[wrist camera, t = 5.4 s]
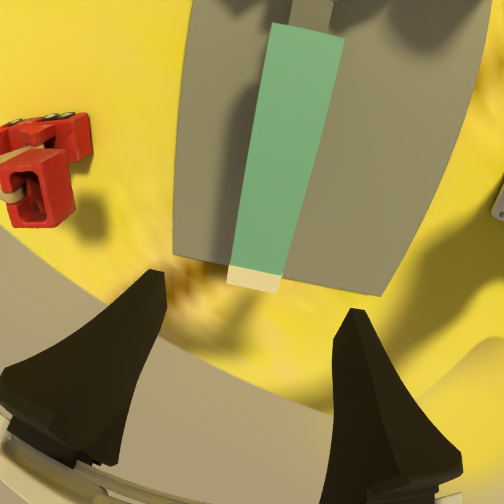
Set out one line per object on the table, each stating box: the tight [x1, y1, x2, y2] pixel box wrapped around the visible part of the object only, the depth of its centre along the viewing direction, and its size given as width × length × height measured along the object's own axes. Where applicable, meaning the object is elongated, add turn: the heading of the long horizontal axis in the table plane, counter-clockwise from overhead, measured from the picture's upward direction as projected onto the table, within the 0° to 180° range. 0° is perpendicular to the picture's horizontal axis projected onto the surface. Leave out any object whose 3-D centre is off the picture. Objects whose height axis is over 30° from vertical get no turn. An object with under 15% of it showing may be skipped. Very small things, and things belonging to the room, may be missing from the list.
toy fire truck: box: [0, 112, 92, 229], centre depth 14 cm, size 3×14×10 cm, turn 85°
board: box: [173, 0, 492, 297], centre depth 12 cm, size 16×30×4 cm, turn 171°
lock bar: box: [226, 23, 345, 294], centre depth 12 cm, size 3×12×2 cm, turn 171°
